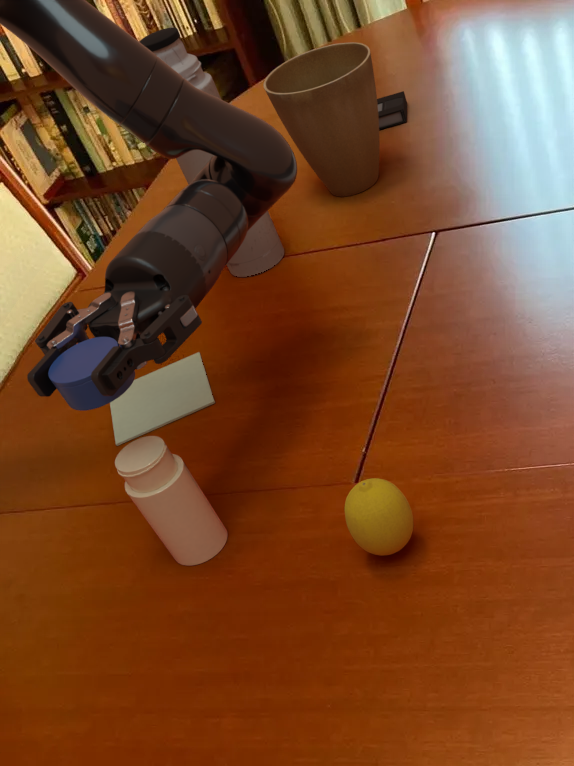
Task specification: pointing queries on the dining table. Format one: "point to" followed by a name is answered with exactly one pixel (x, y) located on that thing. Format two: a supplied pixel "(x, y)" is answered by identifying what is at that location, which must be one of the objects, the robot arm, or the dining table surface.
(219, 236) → the robot arm
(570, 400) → the dining table surface
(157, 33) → the thermos bottle
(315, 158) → the plant pot
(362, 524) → the lemon
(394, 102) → the vhs tape
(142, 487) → the jar
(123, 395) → the mat
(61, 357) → the lid
